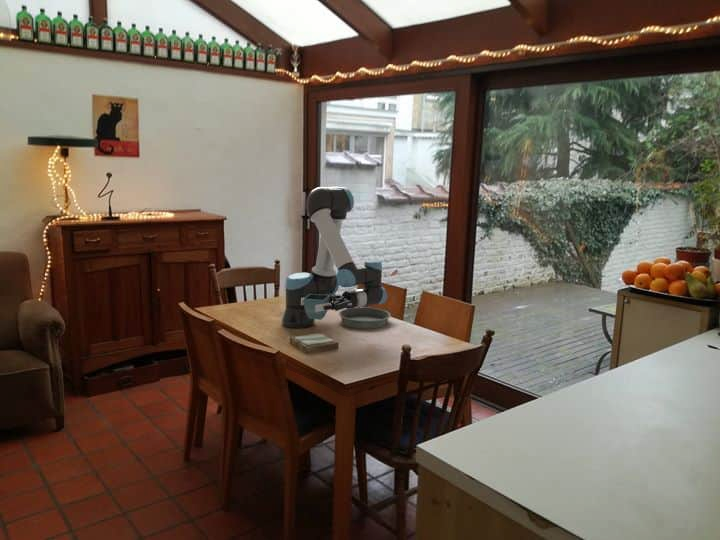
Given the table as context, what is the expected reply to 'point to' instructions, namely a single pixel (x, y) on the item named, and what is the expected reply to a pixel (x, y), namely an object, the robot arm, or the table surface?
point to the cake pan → (364, 317)
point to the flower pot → (310, 305)
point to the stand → (314, 342)
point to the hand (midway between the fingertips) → (308, 305)
